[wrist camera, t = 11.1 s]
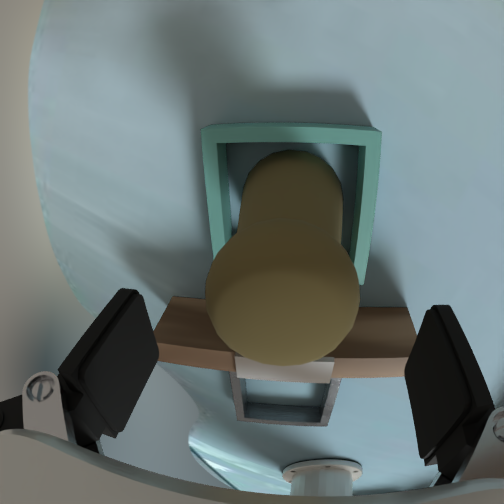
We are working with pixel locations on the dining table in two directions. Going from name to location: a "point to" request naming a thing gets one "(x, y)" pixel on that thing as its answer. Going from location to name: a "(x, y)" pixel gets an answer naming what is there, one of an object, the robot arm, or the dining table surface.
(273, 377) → the door edge
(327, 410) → the collar
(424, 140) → the dining table surface
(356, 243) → the collar
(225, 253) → the cork
